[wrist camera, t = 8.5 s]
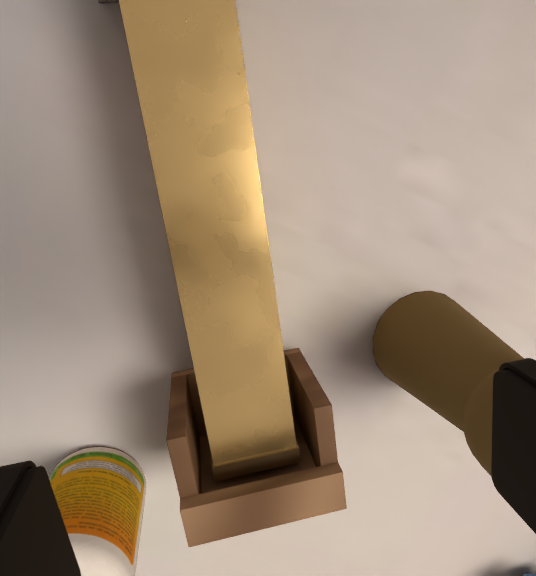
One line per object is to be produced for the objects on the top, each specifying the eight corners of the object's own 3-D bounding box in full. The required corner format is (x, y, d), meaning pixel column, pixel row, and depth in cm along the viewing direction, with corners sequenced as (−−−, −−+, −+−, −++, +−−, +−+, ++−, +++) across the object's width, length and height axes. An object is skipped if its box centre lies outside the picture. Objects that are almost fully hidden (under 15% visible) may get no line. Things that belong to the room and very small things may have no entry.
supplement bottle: (45, 446, 25) (-41, 615, 16) (146, 440, 26) (121, 597, 16) (52, 526, 26) (-23, 725, 17) (147, 519, 27) (125, 704, 18)
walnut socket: (298, 348, 26) (336, 413, 19) (308, 423, 27) (346, 508, 20) (172, 373, 25) (165, 450, 18) (188, 449, 26) (188, 547, 20)
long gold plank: (211, -85, 19) (217, -152, 15) (283, 415, 26) (300, 461, 22) (108, -77, 18) (85, -145, 14) (210, 430, 25) (214, 481, 21)
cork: (351, 347, 26) (459, 470, 16) (423, 269, 26) (584, 344, 15) (417, 402, 28) (552, 546, 18) (485, 331, 27) (667, 436, 17)
